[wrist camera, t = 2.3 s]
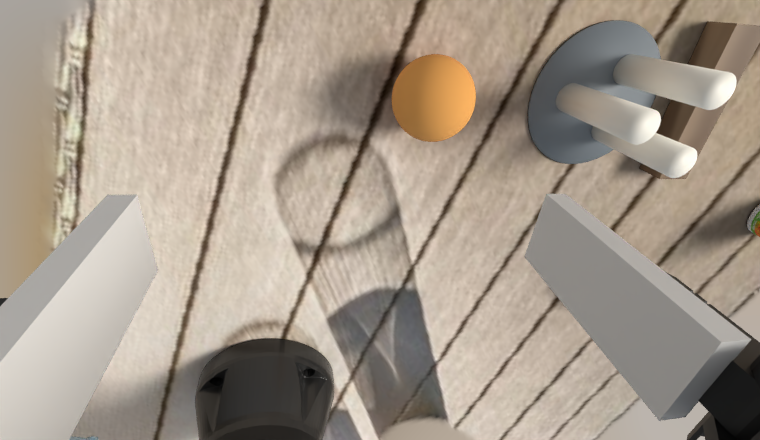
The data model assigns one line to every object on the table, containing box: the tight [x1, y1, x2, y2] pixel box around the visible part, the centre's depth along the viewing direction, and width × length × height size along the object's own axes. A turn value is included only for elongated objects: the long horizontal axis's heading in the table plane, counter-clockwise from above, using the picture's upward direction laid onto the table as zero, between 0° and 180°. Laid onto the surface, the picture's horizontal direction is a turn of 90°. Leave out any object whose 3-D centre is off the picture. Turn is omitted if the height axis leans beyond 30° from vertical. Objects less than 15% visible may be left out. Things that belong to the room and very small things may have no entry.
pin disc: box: [528, 21, 661, 164], centre depth 32 cm, size 12×12×1 cm
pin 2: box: [591, 126, 697, 178], centre depth 31 cm, size 2×2×8 cm
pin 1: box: [613, 54, 737, 110], centre depth 28 cm, size 2×2×8 cm
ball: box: [392, 54, 476, 142], centre depth 27 cm, size 6×6×6 cm
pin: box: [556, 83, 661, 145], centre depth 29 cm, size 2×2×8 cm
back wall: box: [640, 22, 760, 179], centre depth 33 cm, size 3×13×2 cm, turn 176°
